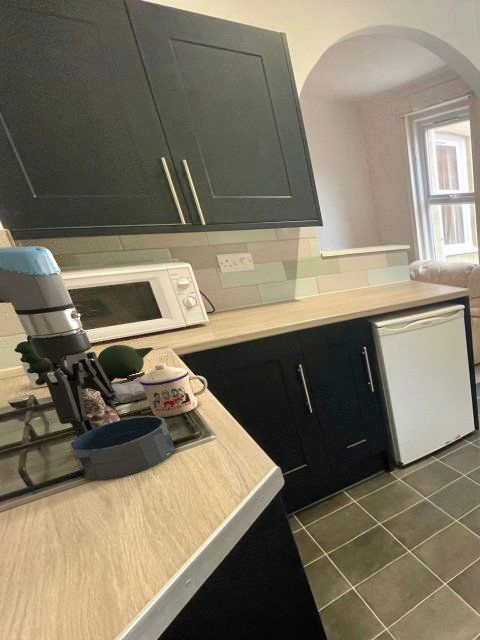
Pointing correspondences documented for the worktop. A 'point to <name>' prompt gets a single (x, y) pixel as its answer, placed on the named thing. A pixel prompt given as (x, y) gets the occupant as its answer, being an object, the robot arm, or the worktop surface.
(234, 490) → the worktop surface
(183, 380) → the teacup with lid
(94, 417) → the figurine
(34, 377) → the container
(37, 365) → the toy figurine
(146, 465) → the blue oval tub
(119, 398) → the stone block
